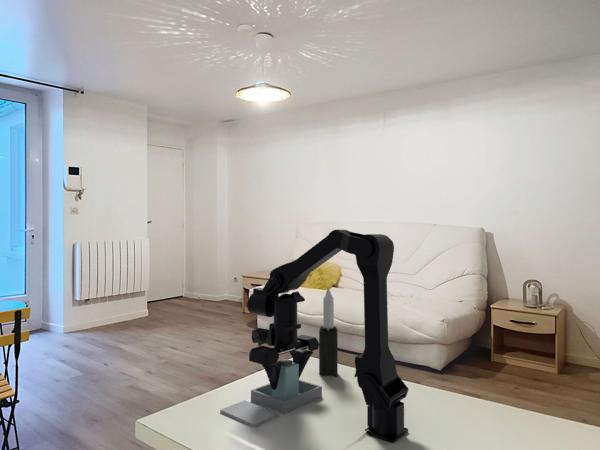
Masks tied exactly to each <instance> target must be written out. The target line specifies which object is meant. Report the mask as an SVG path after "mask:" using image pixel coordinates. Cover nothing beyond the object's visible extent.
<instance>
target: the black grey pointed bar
mask: <svg viewBox="0 0 600 450" xmlns="http://www.w3.org/2000/svg"><path fill="white" fill-rule="evenodd" d="M330 288H331V287H330V286H329V285H327V287H326V291H325V295H324V296H323V298H322V299H323V301H322V305H323V306H322V307H323V310H322V311H323V312H322V313H323V315H322V316H323V319H322V322H323V324H322V325H321V326H320V328H319V330H318V335H319V336H318V338H319V339H318V354H319V355H318V371H319V373H318V375H319V376H321V377H322V376H323V377H325V376H331V377H334V378H338V377H339V376H338V365H339V364H338V362H339V361H338V359H339V356H338V350H339V346H338V337H339V336H338V335H339V334H338V328H337V327H338V326H335V325H334V324H335V323H334V322H335V321H334V319H335V318H334V316H335V313H334V311H335V309H334V306H335V305H334V303H335V302H334V301H335V300H334V297H333V295H332V293H331V289H330Z"/></svg>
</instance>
